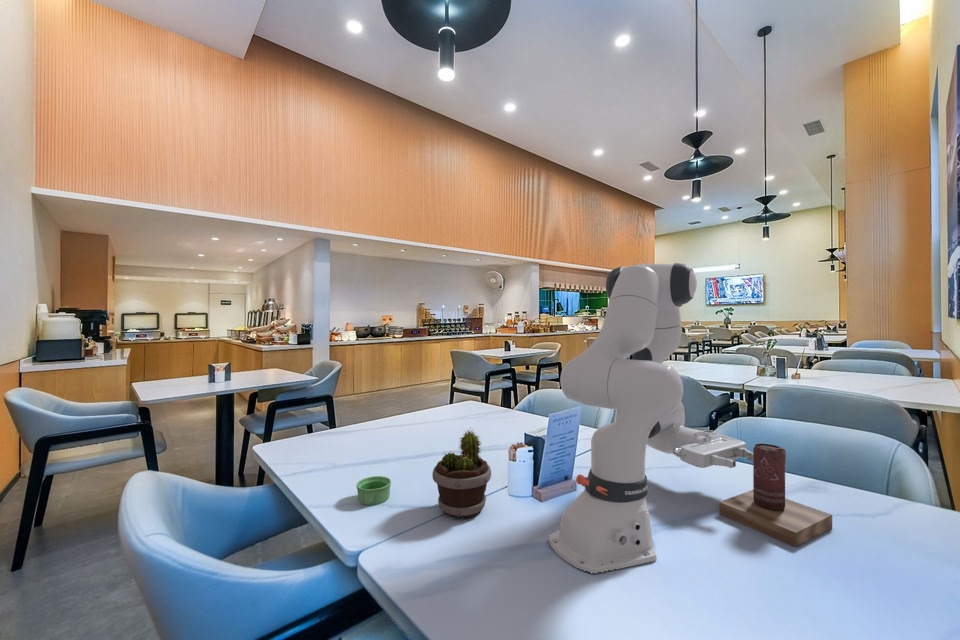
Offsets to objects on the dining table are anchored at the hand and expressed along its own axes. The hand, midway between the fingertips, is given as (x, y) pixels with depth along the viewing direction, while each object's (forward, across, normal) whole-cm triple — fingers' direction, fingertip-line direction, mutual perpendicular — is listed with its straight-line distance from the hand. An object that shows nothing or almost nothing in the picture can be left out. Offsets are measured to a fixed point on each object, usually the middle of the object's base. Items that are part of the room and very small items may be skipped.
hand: (745, 461), depth 100 cm
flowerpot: (-33, -62, +12) cm, 72 cm away
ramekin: (-50, -80, +12) cm, 96 cm away
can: (+5, 0, +9) cm, 11 cm away
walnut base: (+6, 0, +12) cm, 14 cm away
